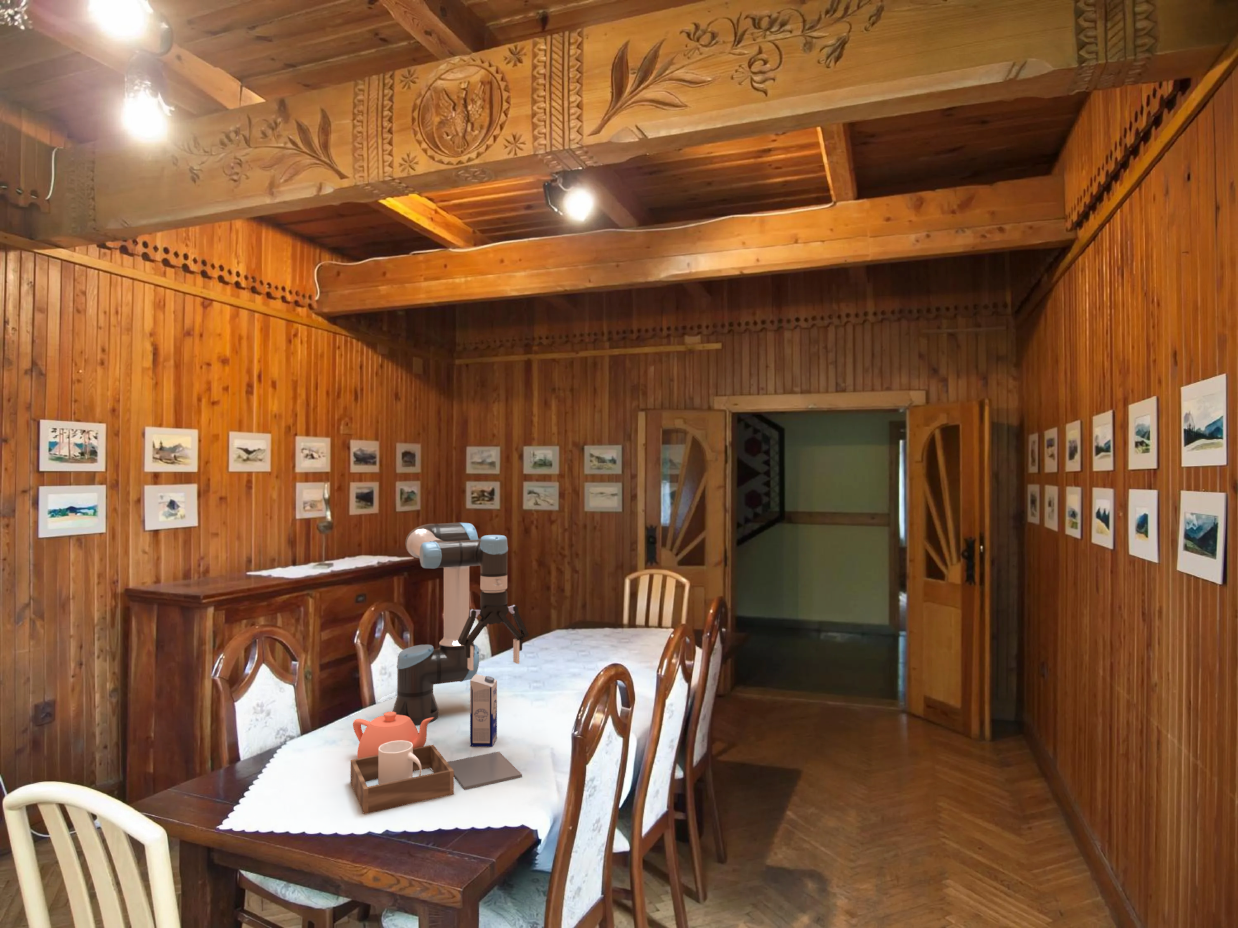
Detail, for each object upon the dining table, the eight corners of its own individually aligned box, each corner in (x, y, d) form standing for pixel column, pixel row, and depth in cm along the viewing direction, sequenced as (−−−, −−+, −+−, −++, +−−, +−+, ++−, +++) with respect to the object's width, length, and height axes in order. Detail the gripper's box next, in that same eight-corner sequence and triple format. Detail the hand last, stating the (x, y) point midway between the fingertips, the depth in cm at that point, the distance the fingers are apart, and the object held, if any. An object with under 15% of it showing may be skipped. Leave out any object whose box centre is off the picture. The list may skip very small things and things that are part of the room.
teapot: (446, 752, 211) (446, 706, 211) (419, 775, 195) (419, 726, 195) (368, 745, 216) (369, 700, 216) (336, 768, 200) (336, 719, 200)
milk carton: (475, 737, 222) (475, 673, 222) (497, 738, 222) (497, 673, 222) (469, 746, 215) (470, 679, 215) (492, 746, 215) (492, 679, 215)
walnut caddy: (350, 782, 190) (350, 759, 190) (433, 765, 201) (433, 744, 201) (363, 814, 173) (363, 789, 173) (453, 793, 184) (453, 770, 184)
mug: (411, 798, 181) (411, 756, 181) (371, 792, 185) (371, 750, 185) (430, 784, 189) (430, 743, 189) (391, 778, 193) (391, 738, 193)
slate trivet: (444, 764, 202) (444, 762, 202) (499, 753, 209) (499, 751, 209) (464, 789, 186) (464, 786, 186) (522, 776, 194) (522, 773, 194)
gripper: (454, 596, 193) (454, 675, 193) (540, 588, 205) (539, 662, 205) (446, 592, 199) (446, 668, 199) (529, 584, 212) (529, 656, 212)
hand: (493, 665), depth 202 cm, fingers open, 13 cm apart
